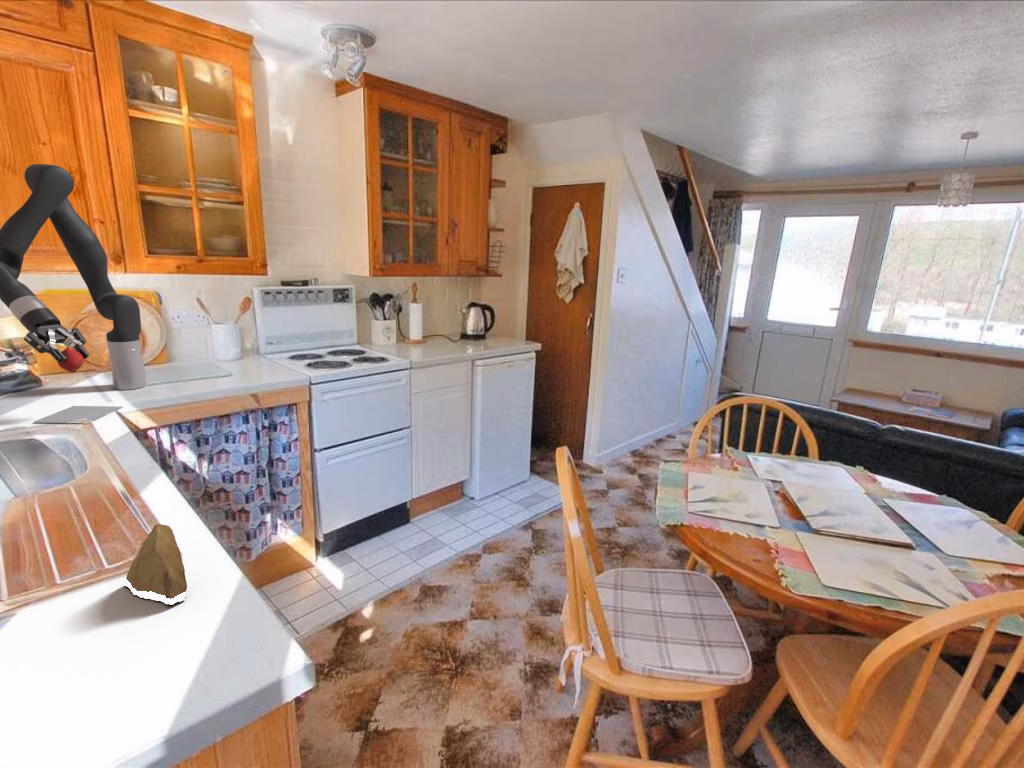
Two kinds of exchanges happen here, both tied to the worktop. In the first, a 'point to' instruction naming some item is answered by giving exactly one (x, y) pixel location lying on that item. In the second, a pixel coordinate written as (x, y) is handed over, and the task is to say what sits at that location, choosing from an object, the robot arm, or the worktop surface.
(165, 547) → the rock
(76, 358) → the onion
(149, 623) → the worktop surface
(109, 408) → the mat
